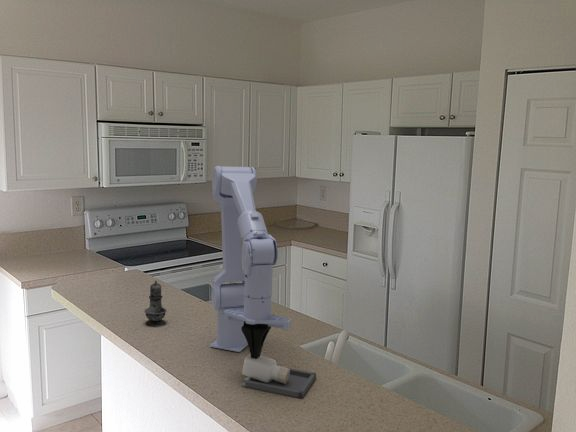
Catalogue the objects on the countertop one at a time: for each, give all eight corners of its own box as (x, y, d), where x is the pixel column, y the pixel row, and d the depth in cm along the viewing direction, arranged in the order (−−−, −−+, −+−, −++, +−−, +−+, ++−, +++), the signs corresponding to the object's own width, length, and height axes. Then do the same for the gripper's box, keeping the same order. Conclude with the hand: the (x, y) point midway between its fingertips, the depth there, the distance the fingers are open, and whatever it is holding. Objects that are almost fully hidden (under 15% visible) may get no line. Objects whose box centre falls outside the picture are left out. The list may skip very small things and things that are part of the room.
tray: (259, 367, 120) (259, 362, 120) (315, 378, 116) (316, 373, 115) (241, 386, 110) (241, 380, 110) (301, 398, 106) (302, 393, 106)
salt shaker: (143, 320, 147) (143, 277, 145) (165, 318, 148) (166, 277, 147) (144, 327, 141) (145, 283, 139) (167, 326, 143) (168, 282, 141)
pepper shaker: (247, 367, 117) (288, 381, 114) (240, 375, 113) (282, 389, 110) (250, 351, 116) (291, 364, 113) (243, 358, 112) (286, 371, 109)
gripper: (218, 295, 110) (216, 357, 112) (284, 305, 105) (281, 370, 107) (232, 286, 117) (230, 346, 119) (295, 295, 112) (292, 357, 114)
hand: (255, 356), depth 113 cm, fingers closed
